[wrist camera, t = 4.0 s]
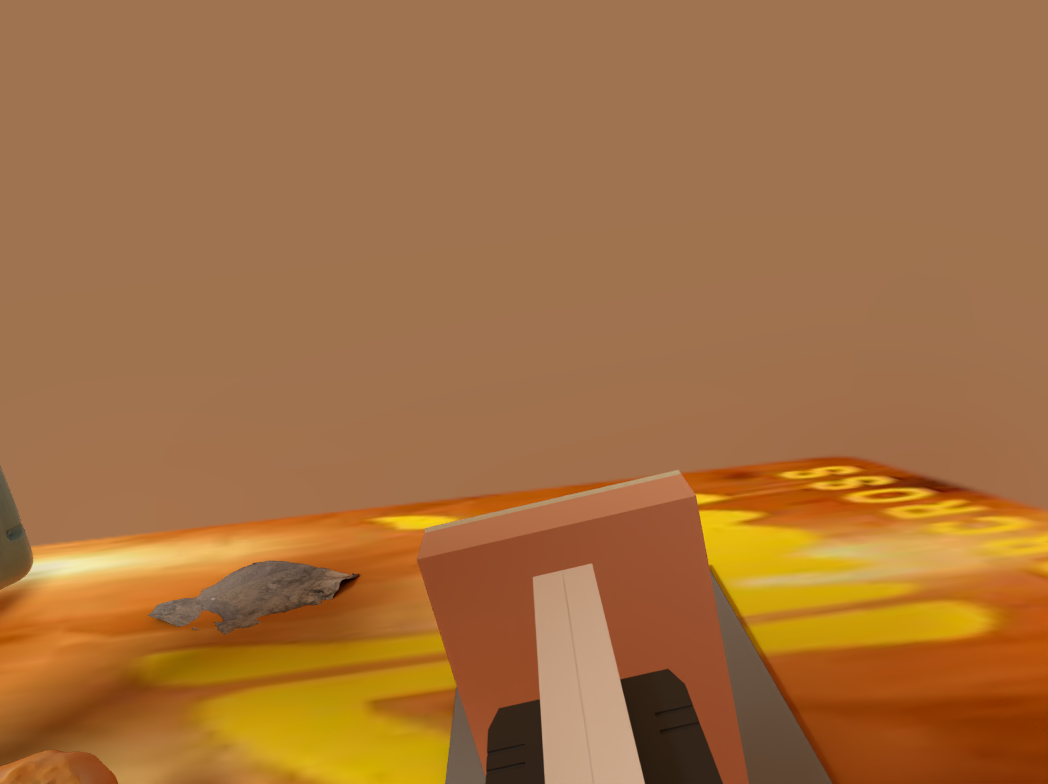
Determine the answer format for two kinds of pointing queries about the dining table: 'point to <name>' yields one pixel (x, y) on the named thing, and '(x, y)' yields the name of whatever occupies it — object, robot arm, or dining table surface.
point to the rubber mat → (762, 713)
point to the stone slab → (255, 594)
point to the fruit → (57, 769)
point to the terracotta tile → (624, 586)
